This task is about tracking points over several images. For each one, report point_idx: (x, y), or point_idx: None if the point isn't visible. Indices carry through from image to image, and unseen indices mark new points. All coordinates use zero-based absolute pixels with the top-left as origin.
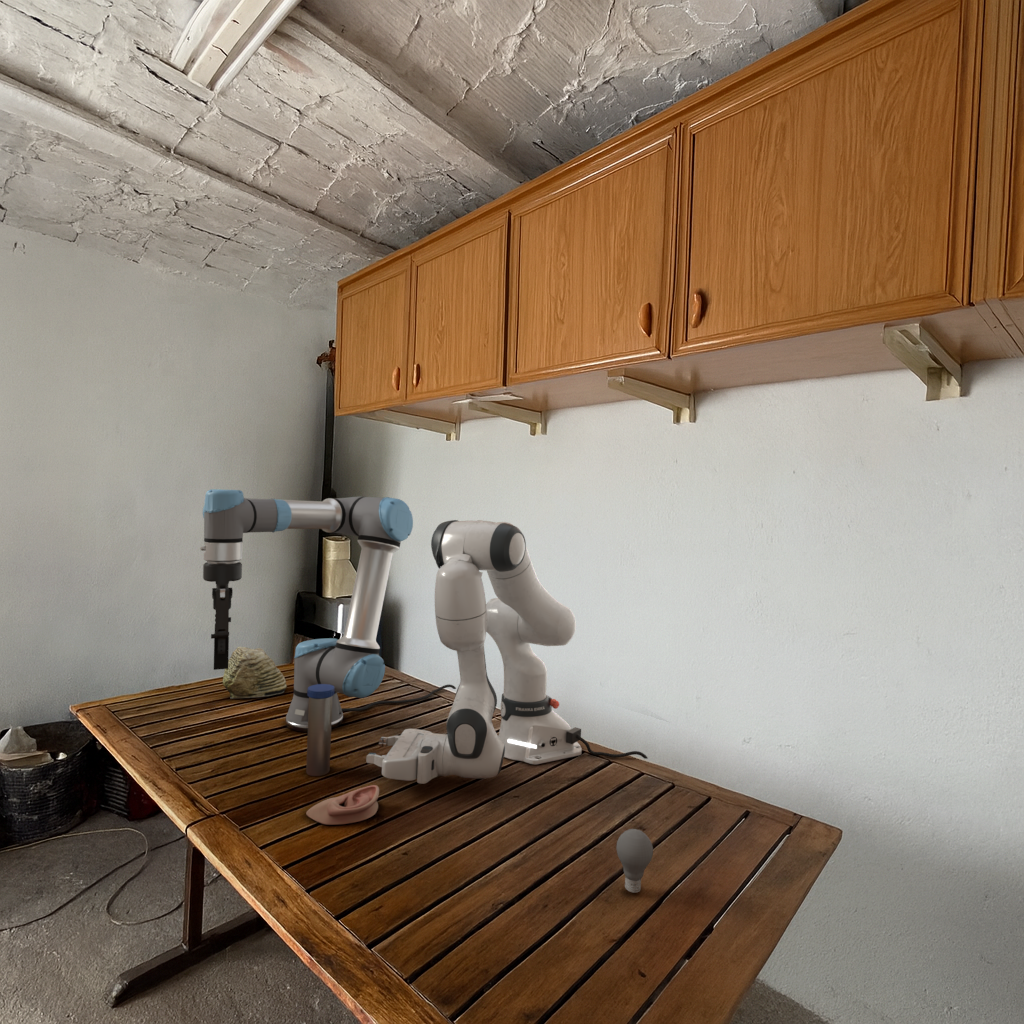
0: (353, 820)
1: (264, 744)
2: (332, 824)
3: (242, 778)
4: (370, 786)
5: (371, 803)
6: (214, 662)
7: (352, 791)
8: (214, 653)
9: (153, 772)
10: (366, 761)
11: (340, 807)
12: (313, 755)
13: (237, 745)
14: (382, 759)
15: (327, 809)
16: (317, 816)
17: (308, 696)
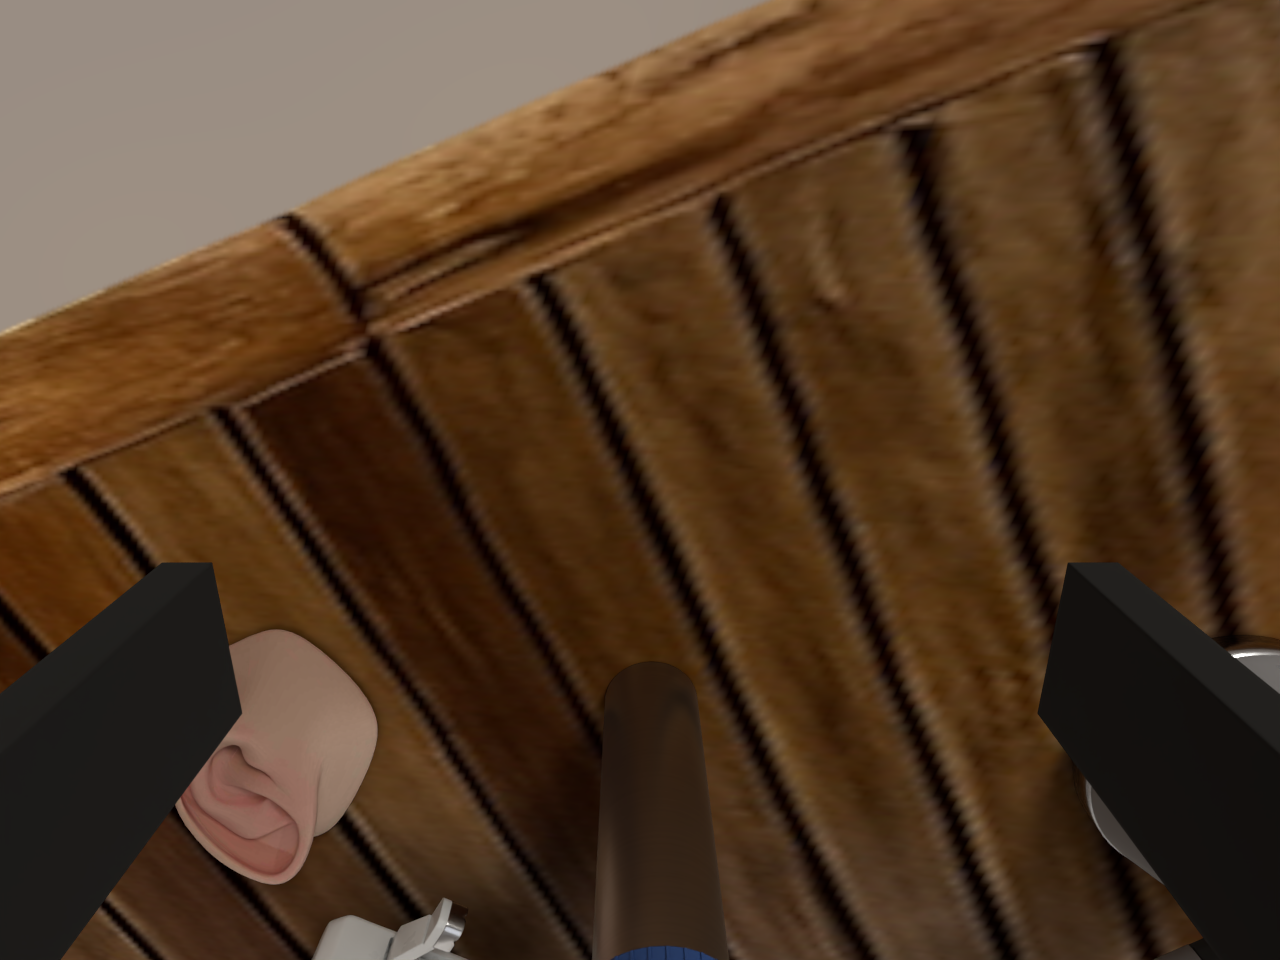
0: None
1: (1043, 531)
2: None
3: (686, 428)
4: (293, 862)
5: (196, 837)
6: (107, 620)
7: (298, 801)
8: (3, 701)
9: (925, 9)
10: (443, 899)
11: None
12: (610, 734)
13: (1094, 416)
14: (390, 958)
15: None
16: None
17: (640, 948)
